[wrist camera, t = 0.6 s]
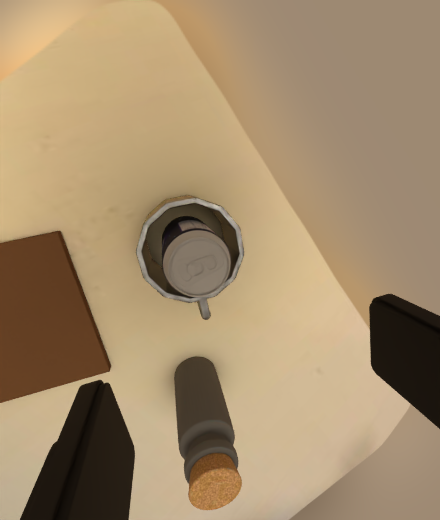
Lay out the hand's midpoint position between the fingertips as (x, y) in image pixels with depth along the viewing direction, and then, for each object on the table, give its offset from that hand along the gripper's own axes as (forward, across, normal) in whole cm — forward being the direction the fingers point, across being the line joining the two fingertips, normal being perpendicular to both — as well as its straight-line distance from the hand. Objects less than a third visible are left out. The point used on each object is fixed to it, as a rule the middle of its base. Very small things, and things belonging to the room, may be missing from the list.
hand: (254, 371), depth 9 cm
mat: (+24, +22, +5) cm, 33 cm away
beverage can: (+24, 0, 0) cm, 24 cm away
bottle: (+24, +3, +19) cm, 31 cm away
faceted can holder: (+24, 0, +1) cm, 24 cm away
